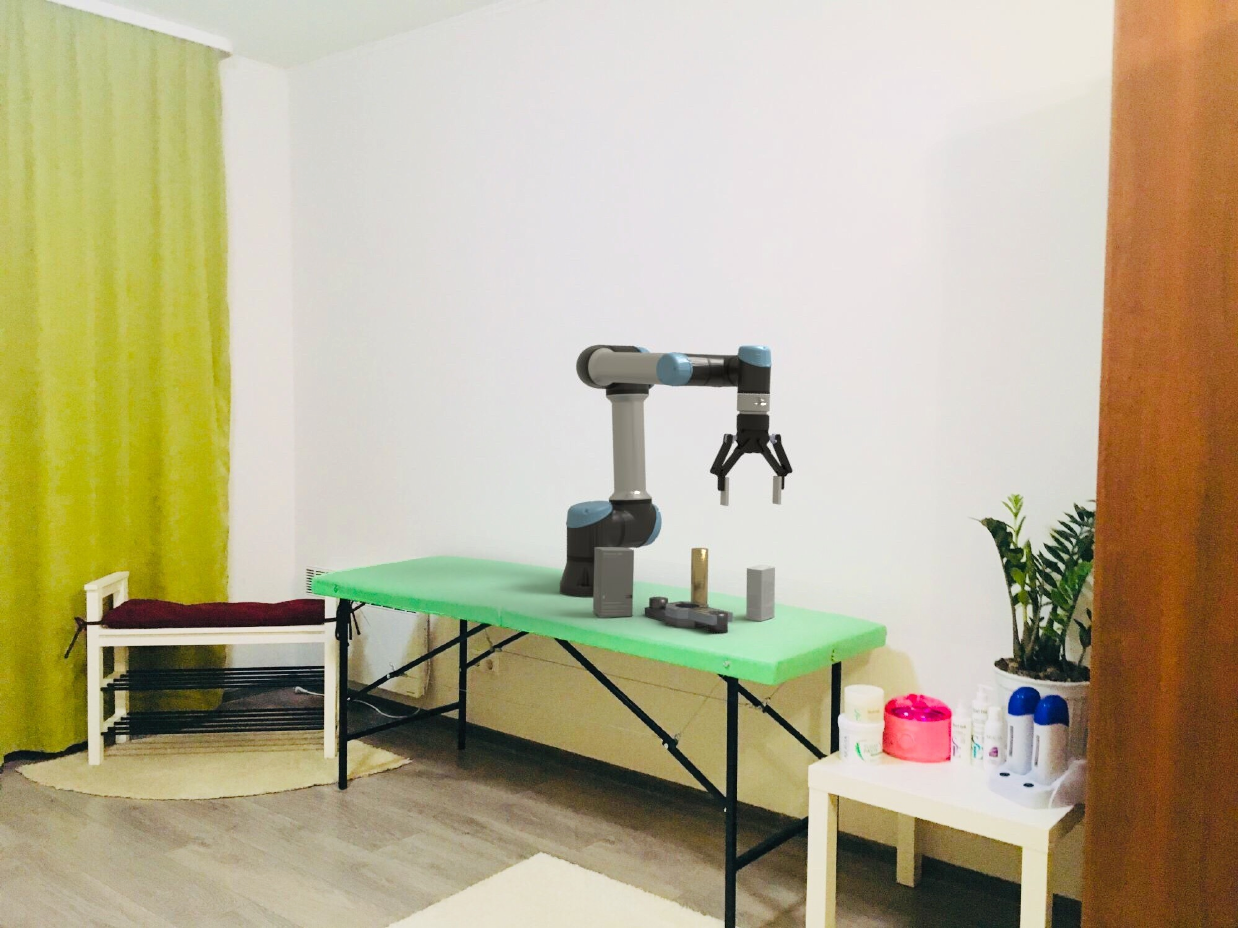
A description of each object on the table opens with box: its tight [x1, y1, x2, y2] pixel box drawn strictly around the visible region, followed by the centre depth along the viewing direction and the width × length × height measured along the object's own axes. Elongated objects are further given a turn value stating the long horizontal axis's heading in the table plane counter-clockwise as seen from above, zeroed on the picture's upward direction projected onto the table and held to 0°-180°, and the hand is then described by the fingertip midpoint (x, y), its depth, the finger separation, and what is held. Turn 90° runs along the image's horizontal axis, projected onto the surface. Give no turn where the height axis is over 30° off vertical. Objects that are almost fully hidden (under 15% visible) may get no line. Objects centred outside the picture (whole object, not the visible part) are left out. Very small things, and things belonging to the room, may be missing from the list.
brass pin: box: [690, 547, 709, 604], centre depth 244 cm, size 4×4×15 cm
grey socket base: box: [644, 596, 734, 635], centre depth 231 cm, size 24×10×4 cm, turn 38°
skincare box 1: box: [592, 547, 635, 619], centre depth 239 cm, size 8×7×16 cm
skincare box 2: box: [746, 564, 776, 622], centre depth 237 cm, size 6×4×12 cm
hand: (750, 504), depth 237 cm, fingers open, 13 cm apart
